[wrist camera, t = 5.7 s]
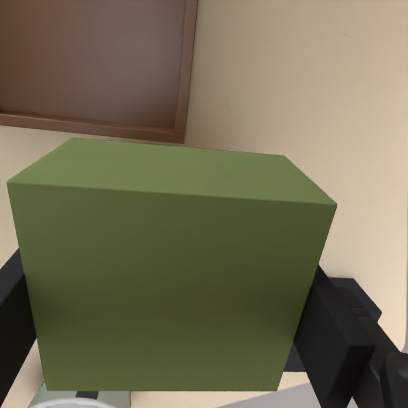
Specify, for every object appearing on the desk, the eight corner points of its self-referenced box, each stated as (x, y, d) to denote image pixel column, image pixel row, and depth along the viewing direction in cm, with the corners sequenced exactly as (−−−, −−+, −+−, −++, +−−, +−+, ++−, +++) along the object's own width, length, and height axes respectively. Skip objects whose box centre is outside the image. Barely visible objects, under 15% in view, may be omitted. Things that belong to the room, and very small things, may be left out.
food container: (33, 340, 32) (1, 401, 26) (144, 342, 34) (138, 400, 28) (41, 408, 37) (16, 473, 31) (138, 408, 39) (132, 469, 33)
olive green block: (284, 155, 13) (338, 204, 8) (251, 302, 17) (277, 392, 12) (72, 137, 12) (5, 181, 8) (85, 297, 16) (46, 391, 11)
